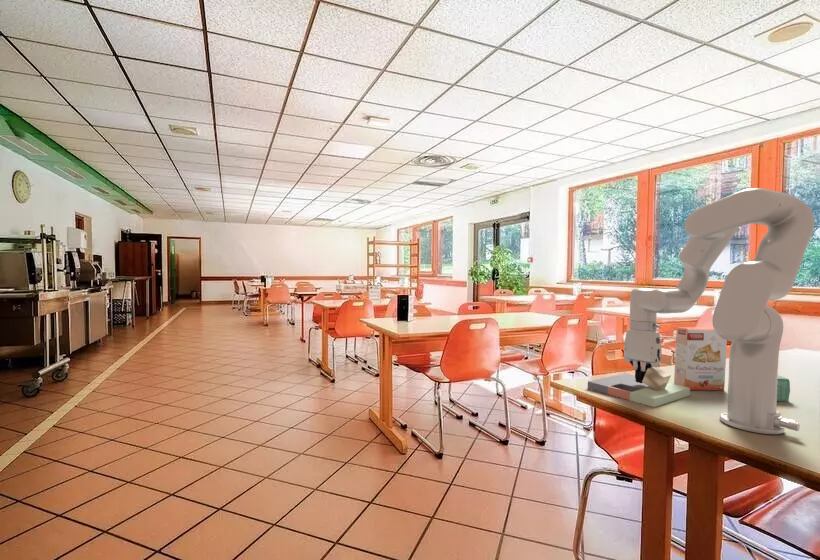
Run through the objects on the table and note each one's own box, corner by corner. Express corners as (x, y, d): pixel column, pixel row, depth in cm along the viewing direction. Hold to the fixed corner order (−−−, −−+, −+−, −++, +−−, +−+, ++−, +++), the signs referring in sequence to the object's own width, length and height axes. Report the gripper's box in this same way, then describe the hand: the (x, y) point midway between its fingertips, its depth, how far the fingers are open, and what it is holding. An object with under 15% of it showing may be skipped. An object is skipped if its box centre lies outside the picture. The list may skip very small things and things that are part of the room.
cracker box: (685, 390, 132) (687, 328, 132) (673, 385, 138) (675, 326, 138) (726, 391, 133) (728, 329, 133) (711, 386, 139) (713, 327, 139)
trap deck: (689, 395, 127) (690, 387, 127) (653, 407, 115) (654, 398, 114) (624, 379, 145) (624, 373, 145) (587, 388, 132) (587, 381, 132)
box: (790, 402, 122) (791, 378, 122) (743, 400, 124) (743, 376, 124) (771, 395, 130) (772, 372, 130) (727, 393, 131) (727, 370, 131)
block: (665, 388, 125) (671, 375, 124) (657, 391, 122) (663, 377, 121) (649, 380, 129) (655, 366, 128) (641, 382, 126) (647, 368, 125)
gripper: (673, 328, 124) (671, 386, 125) (625, 323, 137) (624, 375, 137) (661, 330, 120) (659, 389, 120) (613, 324, 133) (612, 378, 133)
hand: (640, 382), depth 129 cm, fingers closed
